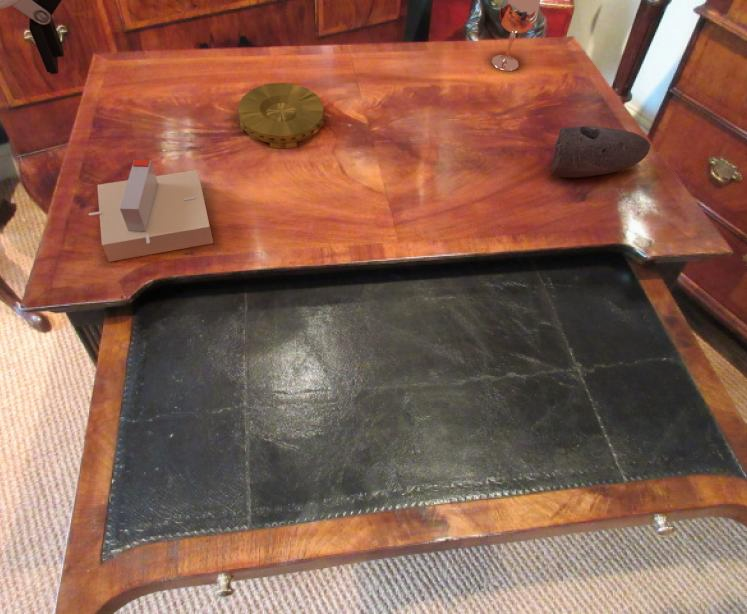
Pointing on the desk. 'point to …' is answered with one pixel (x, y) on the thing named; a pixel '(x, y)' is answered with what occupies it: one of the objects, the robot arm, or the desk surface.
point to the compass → (281, 114)
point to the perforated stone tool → (596, 151)
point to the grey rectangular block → (139, 195)
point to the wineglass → (515, 26)
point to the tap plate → (155, 218)
